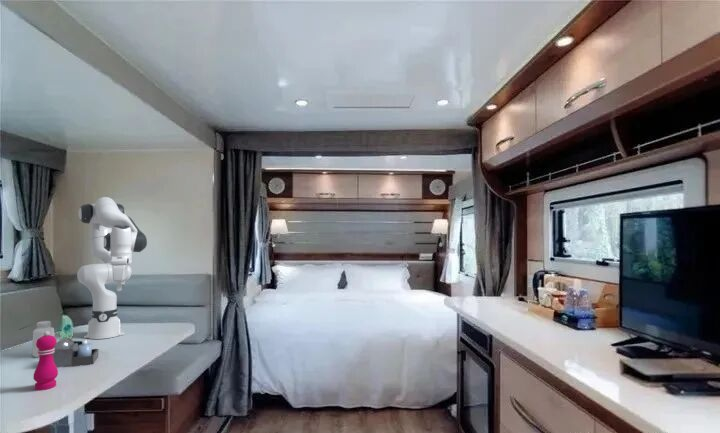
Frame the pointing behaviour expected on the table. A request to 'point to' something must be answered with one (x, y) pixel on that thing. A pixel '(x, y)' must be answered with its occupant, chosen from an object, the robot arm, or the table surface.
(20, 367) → the table surface
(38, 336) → the pill bottle
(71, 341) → the dark grey piece
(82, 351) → the light blue bottle
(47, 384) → the pepper mill
